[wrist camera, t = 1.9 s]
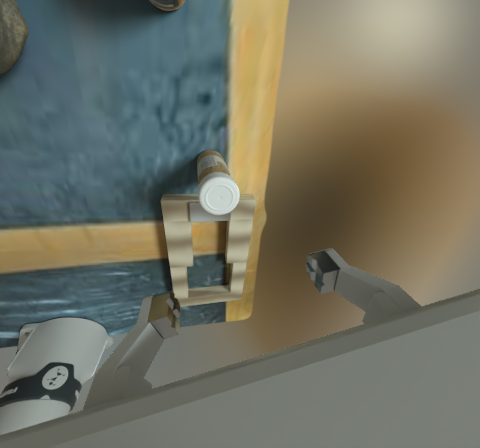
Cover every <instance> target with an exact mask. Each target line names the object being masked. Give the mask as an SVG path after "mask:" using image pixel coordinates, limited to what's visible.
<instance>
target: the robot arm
mask: <svg viewBox="0 0 480 448" xmlns="http://www.w3.org/2000/svg"><path fill="white" fill-rule="evenodd" d="M306 259H307V261H308V262H307V263H306V271H307V274H308V276H309V277H310V278H311V279H312V280H313V281H315V287H316V288H317V290H318V291H319V293H320V294H323V293H327V292H331V291H334V292H336V293H337V294H339V295H341V296H342V297H344V298H346V299H347V300H348V301H350V302H351V303H353V304H355V305H356V306H358V307H360V308H361V309H362V310H364V311H365V312H366V313H365V315H364V318H363V323H364V324H363V325H360V326H356V327H353V328H350V329H346V330H343V331H340V332H337V333H333V334H330V335H327V336H324V337H320V338H317V339H314V340H310V341H307V342H304V343H301V344H297V345H294V346H291V347H287V348H284V349H281V350H278V351H275V352H271V353H268V354H265V355H261V356H258V357H255V358H251V359H248V360H245V361H242V362H239V363H235V364H232V365H228V366H225V367H222V368H219V369H216V370H212V371H209V372H206V373H202V374H199V375H196V376H193V377H190V378H186V379H183V380H179V381H176V382H173V383H170V384H166V385H163V386H160V387H157V388H153V389H152V385H151V383H150V382H148V381H147V380H146V379H144V376H145V374H146V373H147V371H148V369H149V367H150V365H151V363H152V361H153V359H154V358H155V356H156V354H157V352H158V350H159V349H160V347H161V345H162V343H163V341H164V339H166V338H169V337H172V336H175V335H179V329H180V322H179V320H178V318H179V316H180V312H181V310H180V304H179V301H178V299H177V298H174V297H175V294H174V292H173V291H168V292H164V293H160V294H156V295H152V296H148V297H145V298H144V299H143V301H142V305H141V309H140V313H139V317H138V321H137V325H136V326H134V327H133V328H132V329H131V330H130V332H129V333H128V334H127V336H126V337H125V338H124V339H123V341H122V342H121V343H120V344H119V345H118V347H117V348H116V349H115V350H114V352H113V353H112V354H111V355H110V357H109V358H108V359H107V360H106V362H105V363H104V364H103V365H102V366H101V368H100V369H99V370H98V371H97V373H96V374H95V377H94V380H93V382H92V385H91V388H90V391H89V394H88V397H87V400H86V402H85V405H84V407H83V410H81V411H78V412H75V413H72V414H68V413H69V412H70V411H71V410H72V409H73V407H74V405H75V403H76V401H77V399H78V397H79V392H80V390H81V387H82V386H81V385H82V384H83V383H84V382H85V381H87V380H88V379H89V378H90V377H92V376H93V375H94V372H95V370H96V368H97V365H98V363H99V360H100V358H101V355H102V353H103V351H104V350H105V349H107V348H108V347H110V346H111V345H112V344H113V341H114V340H113V339H112V338H111V337H110V336H108V334H107V332H106V330H105V328H104V327H103V326H101V325H100V324H98V323H96V322H93V321H91V320H87V319H82V318H57V319H52V320H48V321H45V322H42V323H32V324H26V325H24V326H23V327H22V329H21V330H20V336H19V343H18V350H17V353H16V356H15V358H14V359H13V360H12V362H11V363H10V365H9V367H8V368H7V371H8V378H9V384H8V385H7V386H6V387H5V388H4V390H3V391H2V393H1V394H0V448H480V289H477V290H474V291H471V292H468V293H464V294H461V295H458V296H455V297H451V298H448V299H445V300H441V301H438V302H435V303H431V304H429V305H425V306H422V307H421V306H420V305H419V304H418V303H417V302H416V301H415V300H414V299H412V297H411V296H409V295H408V294H407V293H406V292H405V291H404V290H403V289H402V288H400V287H399V286H398V285H396V284H393V283H391V282H388V281H386V280H384V279H381V278H379V277H377V276H374V275H372V274H369V273H367V272H364V271H362V270H360V269H357V268H355V267H350V266H348V264H347V263H346V262H345V261H344V260H343V259H342V258H341V257H340V256H339V255H338V254H337V253H336V252H335V251H334V250H333V249H332V248H330V249H326V250H322V251H318V252H315V253H311V254H308V255H307V258H306Z"/></svg>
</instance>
